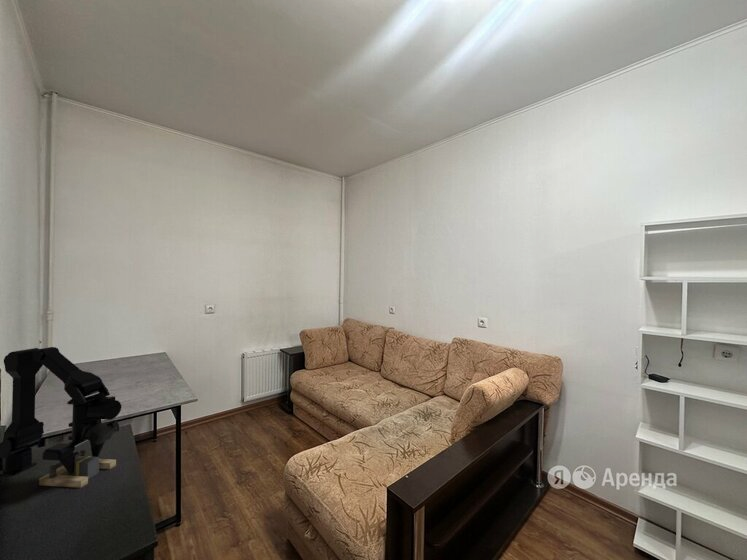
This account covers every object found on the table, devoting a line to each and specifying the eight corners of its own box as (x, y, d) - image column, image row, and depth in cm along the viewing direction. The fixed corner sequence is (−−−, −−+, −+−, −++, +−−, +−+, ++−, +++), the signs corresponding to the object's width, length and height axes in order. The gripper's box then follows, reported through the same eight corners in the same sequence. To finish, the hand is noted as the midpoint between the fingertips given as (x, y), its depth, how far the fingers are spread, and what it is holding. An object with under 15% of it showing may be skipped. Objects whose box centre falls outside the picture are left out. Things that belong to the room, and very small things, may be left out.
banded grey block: (87, 479, 93) (87, 463, 93) (67, 478, 93) (67, 462, 93) (99, 472, 96) (99, 456, 96) (79, 471, 97) (80, 455, 97)
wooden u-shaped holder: (39, 485, 90) (39, 467, 90) (78, 463, 101) (78, 448, 101) (80, 487, 89) (81, 470, 89) (115, 465, 100) (116, 450, 100)
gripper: (76, 432, 85) (74, 487, 85) (133, 406, 104) (133, 451, 103) (41, 431, 86) (40, 485, 86) (105, 405, 105) (104, 449, 104)
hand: (83, 466), depth 95 cm, fingers open, 7 cm apart
